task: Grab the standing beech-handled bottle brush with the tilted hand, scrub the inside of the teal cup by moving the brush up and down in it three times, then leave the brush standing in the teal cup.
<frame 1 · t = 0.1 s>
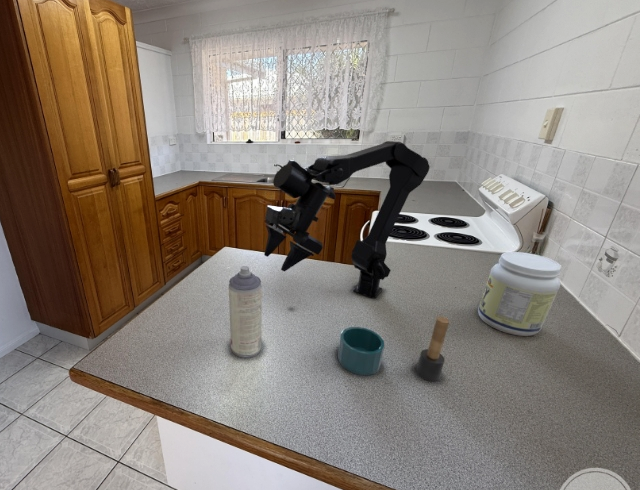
hand: (273, 262, 76), 15 cm above the counter, tool tilted 35°, fingers open, 9 cm apart
teal cup: (358, 360, 66), on the counter
supplement tub: (506, 323, 77), on the counter
brush: (427, 373, 62), on the counter
aerosol can: (246, 348, 70), on the counter
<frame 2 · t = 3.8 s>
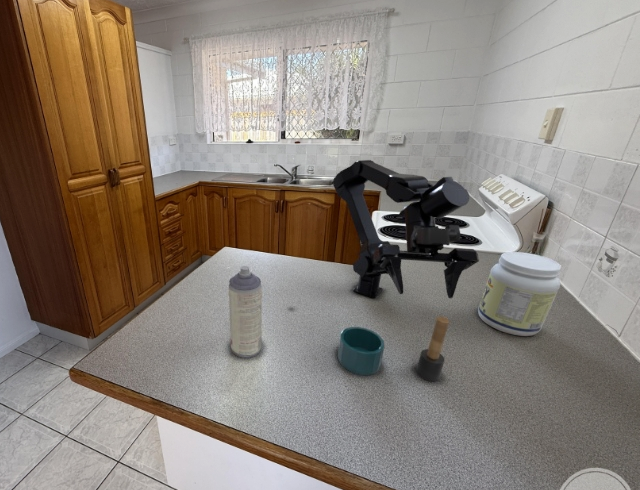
hand: (425, 295, 64), 14 cm above the counter, tool tilted 45°, fingers open, 9 cm apart
nothing on the counter moved.
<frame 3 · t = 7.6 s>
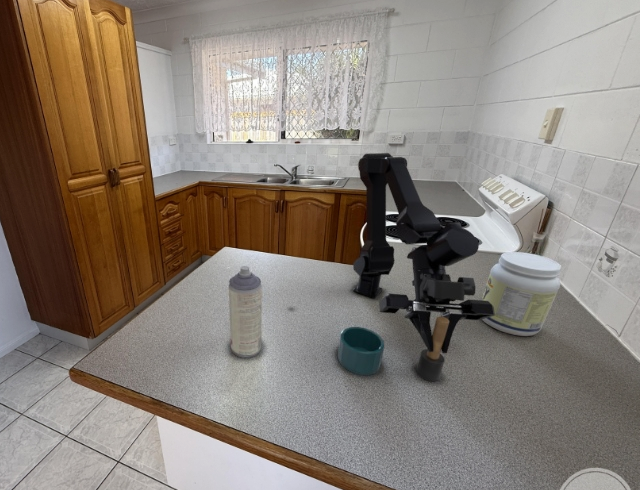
hand: (437, 352, 58), 7 cm above the counter, tool tilted 45°, fingers closed on brush, 2 cm apart
brush: (427, 373, 62), on the counter, touching gripper
everything else where it was.
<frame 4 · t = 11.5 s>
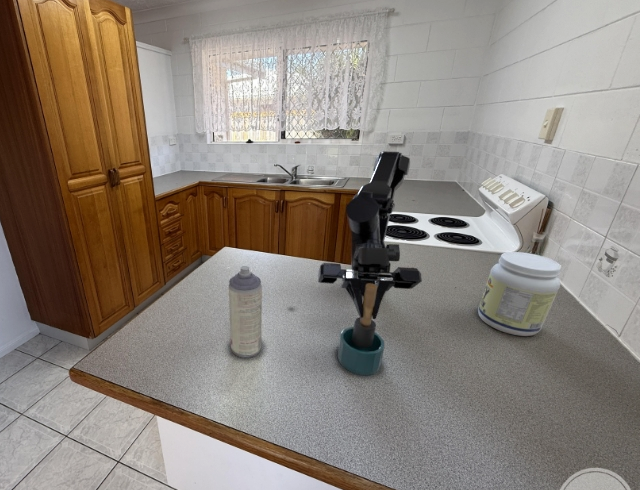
hand: (367, 318, 60), 12 cm above the counter, tool tilted 45°, fingers closed on brush
brush: (362, 341, 64), point 5 cm above the counter, touching gripper
everything else where it was.
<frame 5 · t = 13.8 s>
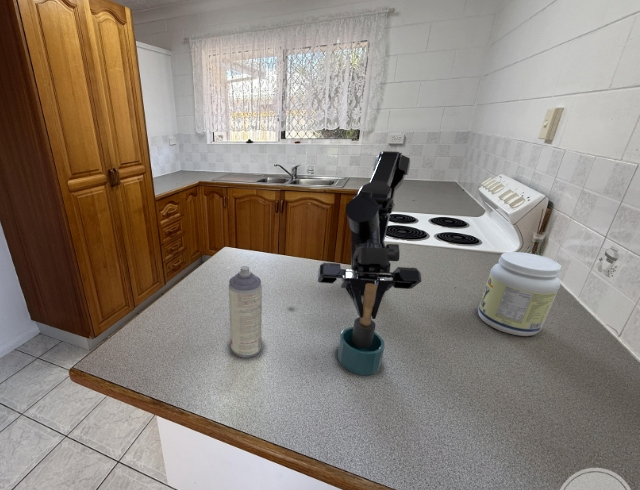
hand: (367, 318, 60), 12 cm above the counter, tool tilted 45°, fingers closed on brush
brush: (361, 341, 64), point 5 cm above the counter, touching gripper
everything else where it was.
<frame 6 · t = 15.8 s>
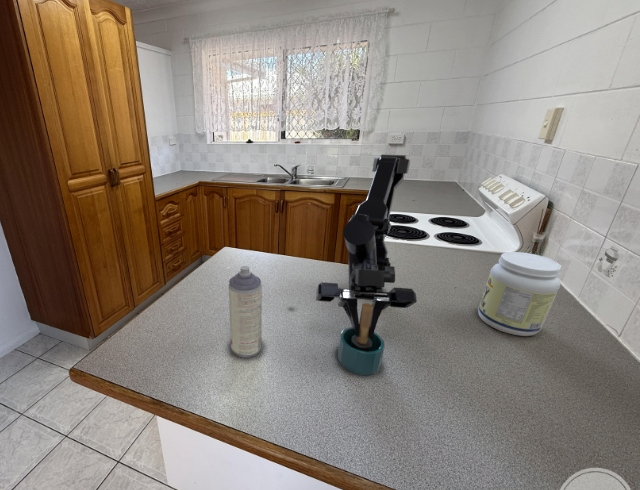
hand: (364, 337, 62), 7 cm above the counter, tool tilted 45°, fingers closed
brush: (359, 357, 66), point 1 cm above the counter, touching teal cup
everything else where it was.
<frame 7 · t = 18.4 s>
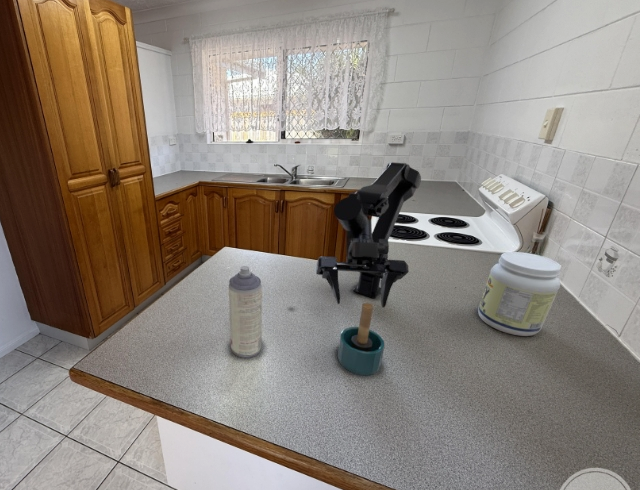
hand: (360, 305, 67), 10 cm above the counter, tool tilted 45°, fingers open, 9 cm apart
nothing on the counter moved.
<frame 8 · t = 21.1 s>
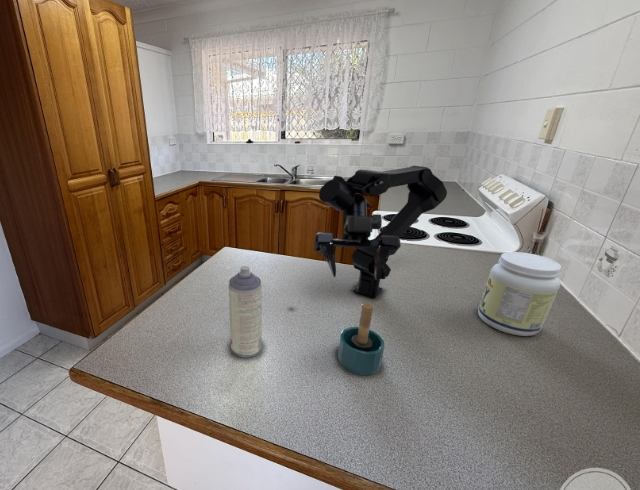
hand: (355, 278, 71), 14 cm above the counter, tool tilted 45°, fingers open, 9 cm apart
nothing on the counter moved.
at the end: brush 0.0 cm off-centre in the teal cup, point 0.6 cm above the teal cup's base; the gripper is holding nothing; brush moved 13.0 cm from its start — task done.
